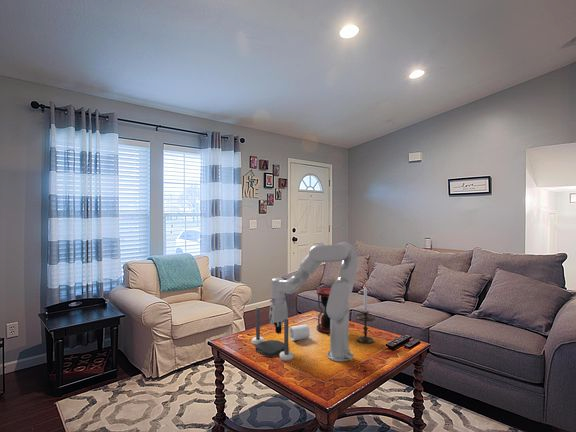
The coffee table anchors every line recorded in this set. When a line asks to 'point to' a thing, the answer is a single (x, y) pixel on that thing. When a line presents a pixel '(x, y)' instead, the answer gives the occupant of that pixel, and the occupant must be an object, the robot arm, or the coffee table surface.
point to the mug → (299, 332)
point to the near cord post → (286, 344)
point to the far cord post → (257, 329)
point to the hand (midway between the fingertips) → (278, 332)
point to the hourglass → (325, 320)
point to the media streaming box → (270, 348)
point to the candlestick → (365, 321)
